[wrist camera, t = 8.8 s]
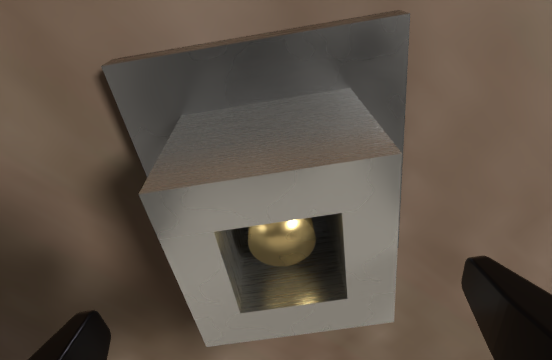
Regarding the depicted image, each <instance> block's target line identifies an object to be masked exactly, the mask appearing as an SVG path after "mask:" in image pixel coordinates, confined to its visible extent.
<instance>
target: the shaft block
mask: <svg viewBox="0 0 552 360" xmlns="http://www.w3.org/2000/svg"><path fill="white" fill-rule="evenodd" d="M409 26H410V13H407V12H403V11H400V10H397V11H392V12H386V13H380V14H374V15H368V16H363V17H357V18H351V19H345V20H339V21H333V22H328V23H322V24H316V25H310V26H304V27H299V28H293V29H287V30H281V31H275V32H269V33H264V34H258V35H252V36H246V37H240V38H235V39H229V40H223V41H217V42H211V43H205V44H200V45H194V46H188V47H182V48H176V49H171V50H165V51H159V52H153V53H147V54H141V55H136V56H130V57H124V58H118V59H112V60H111V61H109V62H107V63H106V64H104V65H102V66H101V67H102V69H103V72H104V74H105V77H106V79H107V82H108V84H109V86H110V89H111V91H112V94H113V96H114V98H115V101H116V103H117V106H118V108H119V110H120V113H121V115H122V118H123V120H124V123H125V125H126V127H127V130H128V132H129V135H130V137H131V139H132V142H133V144H134V147H135V149H136V151H137V154H138V156H139V159H140V161H141V164H142V166H143V168H144V171H145V173H146V176H147V178H148V176H149V174H150V172H151V170H152V168H153V167H154V165H155V163H156V161H157V159H158V157H159V155H160V154H161V152H162V150H163V148H164V146H165V144H166V143H167V141H168V139H169V137H170V135H171V133H172V132H173V130H174V128H175V126H176V124H177V122H178V120H179V119H180V117H181V115H187V114H193V113H199V112H205V111H211V110H217V109H223V108H230V107H236V106H242V105H248V104H254V103H260V102H266V101H272V100H278V99H284V98H290V97H297V96H303V95H309V94H315V93H321V92H327V91H333V90H339V89H345V88H351V89H352V91H353V92H354V93H355V95H356V96H357V97H358V98H359V100H360V101H361V102H362V103H363V105H364V106H365V107H366V108H367V110H368V111H369V112H370V114H371V115H372V116H373V117H374V119H375V120H376V121H377V122H378V124H379V125H380V126H381V128H382V129H383V130H384V131H385V133H386V134H387V135H388V136H389V138H390V139H391V140H392V141H393V143H394V144H395V145H396V147H397V148H398V149H399V150H400V152H401V153H402V163H403V144H404V124H405V104H406V85H407V65H408V45H409ZM402 163H401V183H402ZM400 203H401V184H400ZM399 222H400V205H399ZM315 242H316V236H315V232H314V227H313V222H312V218H311V217H310V218H304V219H297V220H290V221H283V222H277V223H270V224H263V225H256V226H250V227H249V232H248V245H249V249H250V251H251V253H252V254H253V256H254V257H255V258H256V259H258V260H259V261H261V262H263V263H265V264H268V265H272V266H289V265H293V264H296V263H298V262H300V261H302V260H304V259H305V258H306V257H308V256H309V255H310V253H311V252H312V251H313V249H314V246H315ZM398 242H399V226H398ZM397 248H398V247H397Z"/></svg>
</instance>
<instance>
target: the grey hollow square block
mask: <svg viewBox="0 0 552 360" xmlns="http://www.w3.org/2000/svg"><path fill="white" fill-rule="evenodd" d="M401 163H402V153H401V152H400V150H399V149H398V148H397V147H396V145H395V144H394V143H393V141H392V140H391V139H390V138H389V136H388V135H387V134H386V133H385V131H384V130H383V129H382V128H381V126H380V125H379V124H378V122H377V121H376V120H375V119H374V117H373V116H372V115H371V114H370V112H369V111H368V110H367V108H366V107H365V106H364V105H363V103H362V102H361V101H360V100H359V98H358V97H357V96H356V95H355V93H354V92H353V91H352V89H351V88H345V89H339V90H333V91H327V92H321V93H315V94H309V95H303V96H297V97H290V98H284V99H278V100H272V101H266V102H260V103H254V104H248V105H242V106H236V107H230V108H223V109H217V110H211V111H205V112H199V113H193V114H187V115H181V117H180V119H179V120H178V122H177V124H176V126H175V128H174V130H173V132H172V133H171V135H170V137H169V139H168V141H167V143H166V144H165V146H164V148H163V150H162V152H161V154H160V155H159V157H158V159H157V161H156V163H155V165H154V167H153V168H152V170H151V172H150V174H149V176H148V178H147V179H146V181H145V183H144V185H143V187H142V189H141V190H140V192H139V197H140V199H141V201H142V203H143V206H144V208H145V210H146V212H147V214H148V217H149V219H150V221H151V223H152V226H153V228H154V230H155V232H156V235H157V237H158V239H159V241H160V244H161V246H162V248H163V250H164V253H165V255H166V257H167V259H168V262H169V264H170V266H171V268H172V271H173V273H174V275H175V277H176V280H177V282H178V284H179V286H180V289H181V291H182V293H183V295H184V298H185V300H186V302H187V304H188V307H189V309H190V311H191V313H192V315H193V318H194V320H195V322H196V324H197V327H198V329H199V331H200V333H201V336H202V338H203V340H204V342H205V345H206V347H210V346H217V345H225V344H232V343H240V342H247V341H255V340H262V339H270V338H277V337H285V336H293V335H300V334H308V333H315V332H323V331H330V330H338V329H345V328H353V327H360V326H368V325H375V324H383V323H390V322H394V310H395V289H396V268H397V247H398V226H399V205H400V184H401ZM310 217H311V218H312V222H313V227H314V232H315V236H316V242H315V246H314V249H313V251H312V252H311V253H310V255H309V256H308V257H306V258H305V259H304V260H302V261H300V262H298V263H296V264H293V265H289V266H272V265H268V264H265V263H263V262H261V261H259V260H258V259H256V258H255V257H254V256H253V254H252V253H251V251H250V249H249V245H248V232H249V227H250V226H256V225H263V224H270V223H277V222H283V221H290V220H297V219H304V218H310Z"/></svg>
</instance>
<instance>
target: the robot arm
mask: <svg viewBox="0 0 552 360" xmlns="http://www.w3.org/2000/svg"><path fill="white" fill-rule="evenodd" d="M461 283H462V289H463V292H464V294H465V296H466V299H467V301H468V303H469V305H470V308H471V310H472V312H473V314H474V317H475V319H476V321H477V323H478V326H479V328H480V330H481V332H482V335H483V337H484V339H485V341H486V344H487V346H488V348H489V350H490V352H491V354H492V356H493V358H494V360H552V295H551V294H550V293H548V292H546V291H545V290H543V289H541V288H540V287H538V286H536V285H535V284H533V283H531V282H530V281H528V280H526V279H525V278H523V277H521V276H519V275H518V274H516V273H514V272H513V271H511V270H509V269H508V268H506V267H504V266H503V265H501V264H499V263H498V262H496V261H494V260H493V259H491V258H489V257H487V256H477V257H470V258H468V259H467V260H466V261H465V266H464V271H463V276H462V282H461ZM110 340H111V333H110V329H109V328H108V326H107V325H106V323H105V322H104V320H103V319H102V317H101V316H100V314H99V313H98V312H97V311H95V310H91V311H84V312H79V313H77V314H76V315H75V316H74V317H72V318H71V319H70V320H69V321H68V322H67V323H66V324H65V325H64V326H63V327H62V328H61V329H60V330H59V331H58V332H57V333H56V334H54V335H53V336H52V337H51V338H50V339H49V340H48V341H47V342H46V343H45V344H44V345H43V346H42V347H41V348H40V349H39V350H38V351H36V352H35V353H34V354H33V355H32V356H31V357H30V358H29V359H28V360H107V356H108V351H109V346H110Z"/></svg>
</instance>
